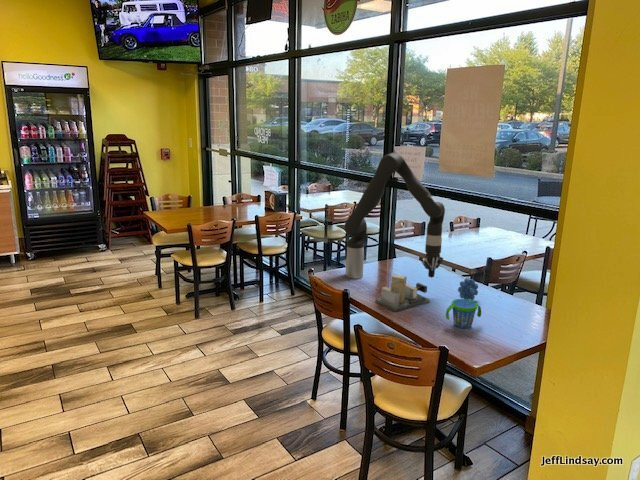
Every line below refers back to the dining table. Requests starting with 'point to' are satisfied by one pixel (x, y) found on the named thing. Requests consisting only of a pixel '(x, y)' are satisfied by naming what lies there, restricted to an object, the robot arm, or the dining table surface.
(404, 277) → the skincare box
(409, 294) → the free jaw
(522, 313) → the dining table surface
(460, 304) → the snack cup
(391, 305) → the vise
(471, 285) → the grapes
